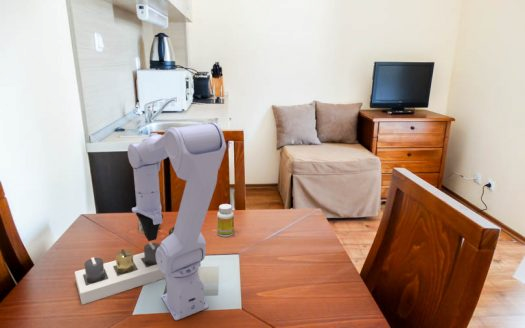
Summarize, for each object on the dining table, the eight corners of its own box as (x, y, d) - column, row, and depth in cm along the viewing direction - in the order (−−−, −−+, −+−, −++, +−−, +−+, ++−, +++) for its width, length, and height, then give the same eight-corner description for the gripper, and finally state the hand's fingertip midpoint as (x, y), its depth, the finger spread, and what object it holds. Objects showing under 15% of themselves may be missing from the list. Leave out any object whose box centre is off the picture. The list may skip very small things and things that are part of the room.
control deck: (174, 274, 92) (174, 264, 91) (82, 304, 80) (80, 293, 79) (162, 256, 100) (161, 247, 99) (76, 281, 88) (74, 271, 87)
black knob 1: (106, 280, 85) (104, 262, 84) (88, 285, 83) (85, 267, 81) (103, 271, 88) (100, 254, 87) (85, 276, 86) (83, 259, 85)
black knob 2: (162, 263, 92) (161, 246, 91) (147, 267, 90) (146, 250, 89) (158, 256, 96) (156, 239, 94) (143, 260, 94) (141, 243, 92)
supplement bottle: (216, 230, 116) (216, 203, 113) (232, 228, 117) (232, 202, 114) (218, 238, 111) (217, 210, 108) (234, 236, 112) (234, 209, 109)
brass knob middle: (135, 271, 89) (134, 253, 87) (119, 276, 87) (117, 258, 85) (131, 263, 92) (130, 246, 90) (115, 268, 90) (113, 251, 88)
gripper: (123, 183, 91) (128, 230, 95) (139, 203, 79) (143, 255, 83) (150, 179, 94) (154, 224, 98) (169, 196, 83) (172, 247, 87)
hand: (151, 238), depth 91 cm, fingers closed
